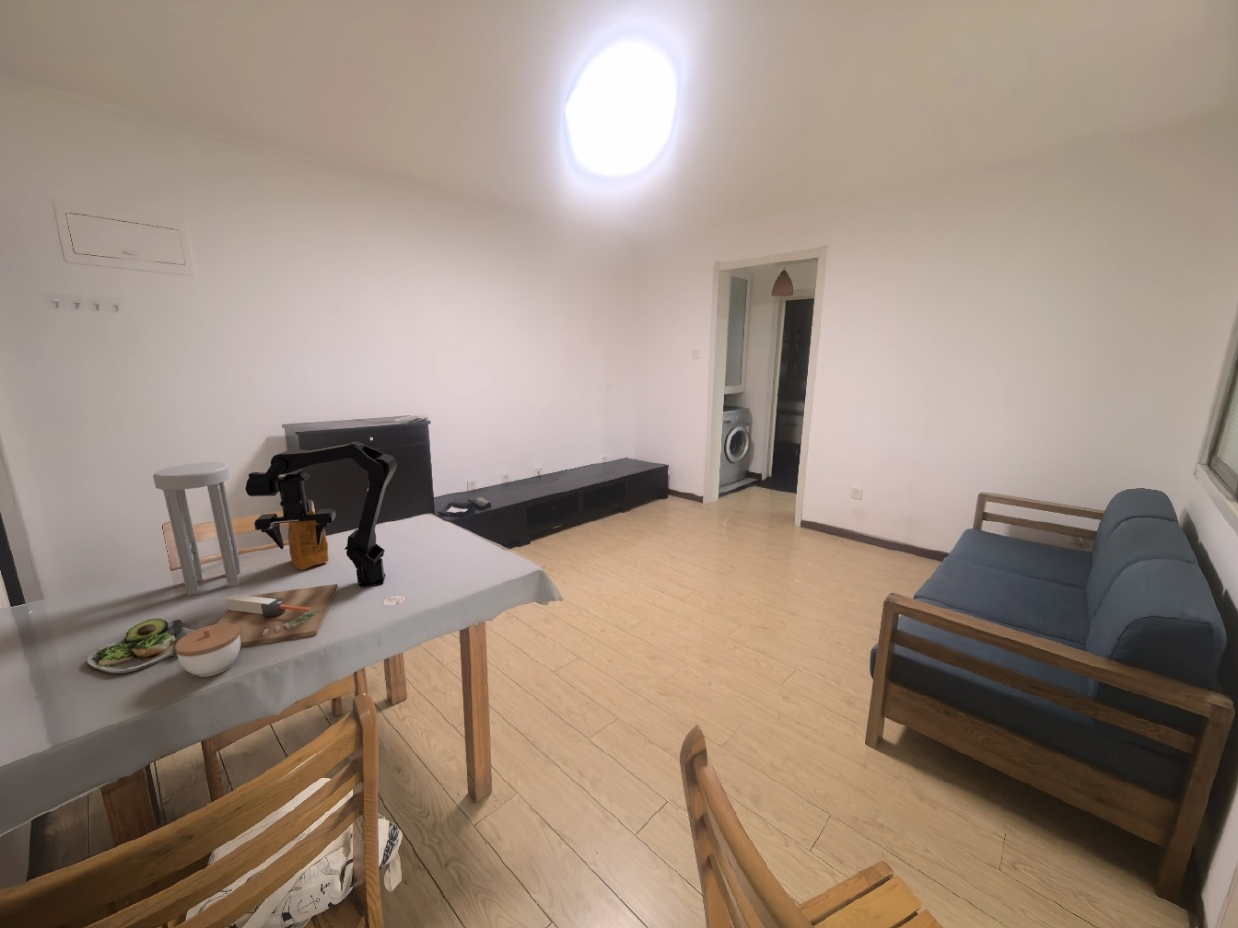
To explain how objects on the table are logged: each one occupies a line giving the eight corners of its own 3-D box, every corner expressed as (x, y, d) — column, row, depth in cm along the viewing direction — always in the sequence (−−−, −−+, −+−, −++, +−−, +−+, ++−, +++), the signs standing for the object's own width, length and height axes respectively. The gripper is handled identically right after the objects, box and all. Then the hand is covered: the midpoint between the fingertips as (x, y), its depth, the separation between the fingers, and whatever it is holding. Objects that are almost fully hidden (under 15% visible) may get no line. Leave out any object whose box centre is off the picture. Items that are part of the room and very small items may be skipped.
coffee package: (323, 551, 165) (313, 490, 160) (332, 563, 156) (323, 498, 151) (288, 560, 158) (277, 496, 153) (296, 573, 150) (285, 505, 144)
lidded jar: (193, 691, 99) (184, 651, 96) (174, 672, 104) (164, 634, 102) (254, 663, 108) (246, 625, 105) (233, 647, 113) (225, 611, 111)
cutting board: (338, 587, 141) (337, 582, 141) (316, 634, 118) (315, 629, 118) (239, 600, 133) (238, 595, 133) (196, 654, 110) (195, 648, 110)
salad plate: (221, 640, 116) (218, 623, 115) (126, 687, 100) (120, 668, 99) (173, 623, 123) (169, 606, 122) (77, 664, 107) (71, 646, 106)
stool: (249, 566, 154) (229, 459, 146) (246, 586, 142) (223, 470, 133) (186, 578, 146) (160, 466, 137) (176, 600, 133) (147, 478, 125)
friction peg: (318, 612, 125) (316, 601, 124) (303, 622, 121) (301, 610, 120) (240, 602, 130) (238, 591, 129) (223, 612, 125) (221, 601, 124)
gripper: (336, 484, 146) (342, 532, 150) (263, 490, 141) (272, 540, 144) (327, 495, 136) (335, 546, 140) (249, 501, 130) (259, 555, 134)
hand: (300, 546), depth 140 cm, fingers open, 9 cm apart
